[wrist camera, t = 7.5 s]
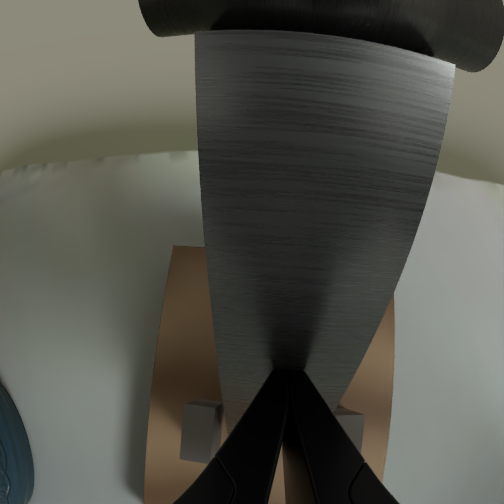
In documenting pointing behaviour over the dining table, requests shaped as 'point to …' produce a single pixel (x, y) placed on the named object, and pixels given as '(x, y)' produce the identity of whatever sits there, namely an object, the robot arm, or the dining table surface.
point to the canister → (14, 455)
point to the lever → (316, 167)
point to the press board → (210, 396)
